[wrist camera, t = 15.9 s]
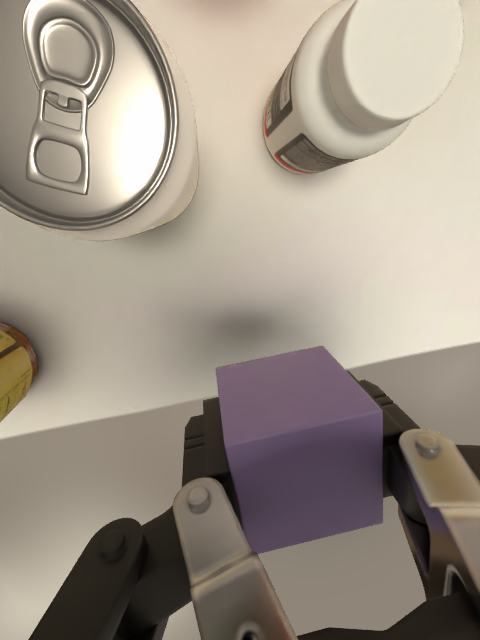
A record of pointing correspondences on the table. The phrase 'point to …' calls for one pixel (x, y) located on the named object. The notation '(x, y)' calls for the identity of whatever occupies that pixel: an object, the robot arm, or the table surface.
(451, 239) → the table surface
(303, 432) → the purple cube
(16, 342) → the sauce bottle
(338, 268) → the table surface
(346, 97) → the pill bottle
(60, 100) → the can
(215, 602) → the robot arm
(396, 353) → the table surface
